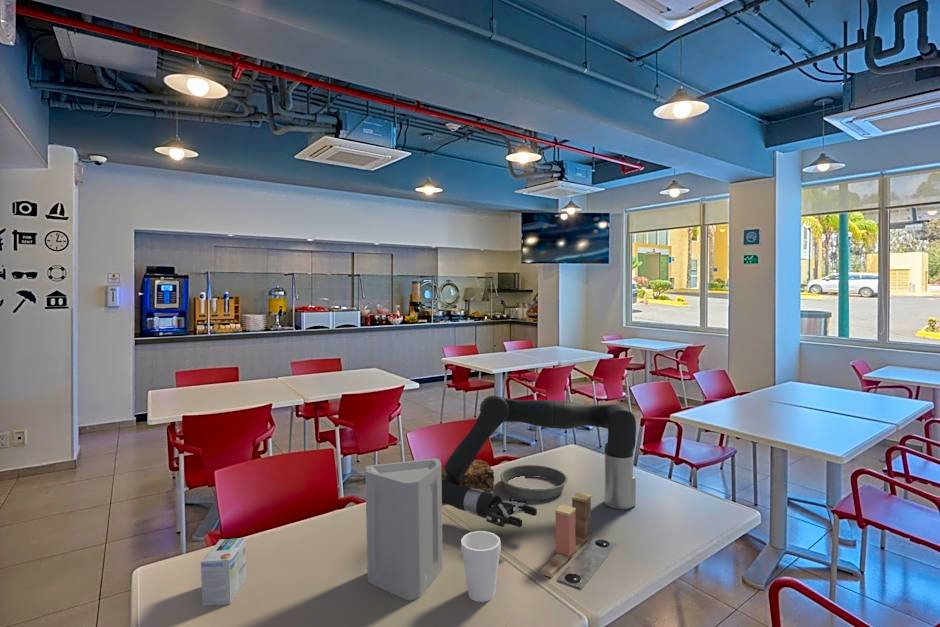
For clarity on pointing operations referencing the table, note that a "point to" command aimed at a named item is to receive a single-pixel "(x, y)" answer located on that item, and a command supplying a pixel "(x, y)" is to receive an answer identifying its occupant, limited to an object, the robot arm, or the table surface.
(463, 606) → the table surface
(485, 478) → the bread
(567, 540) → the sliding leg
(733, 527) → the table surface
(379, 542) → the triangular storage bin
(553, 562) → the rail
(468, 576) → the foam cup
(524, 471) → the cake pan
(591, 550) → the flange plate
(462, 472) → the robot arm
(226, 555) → the light bulb box
